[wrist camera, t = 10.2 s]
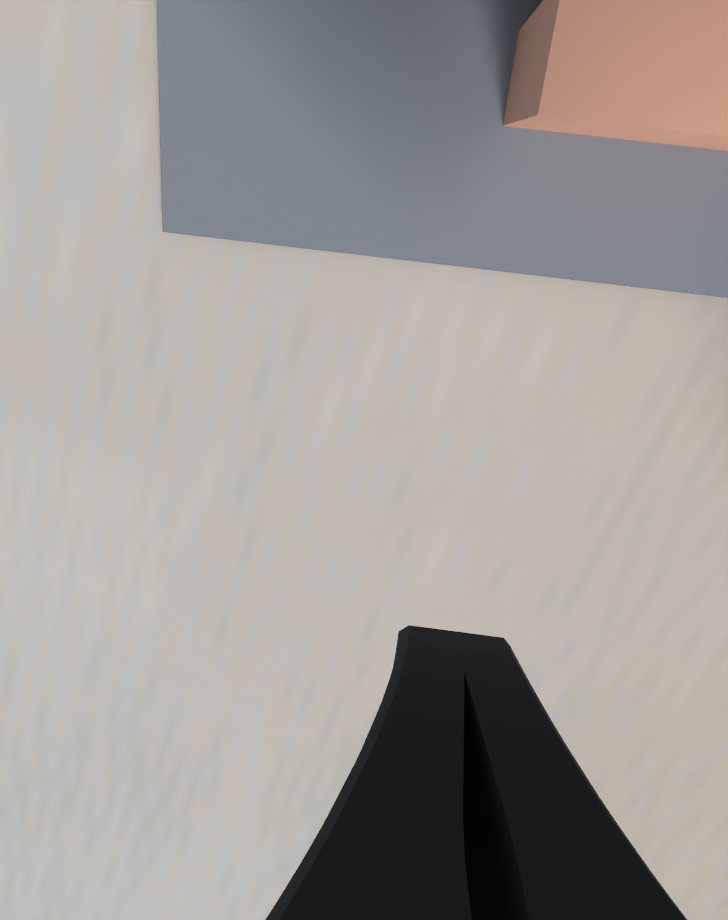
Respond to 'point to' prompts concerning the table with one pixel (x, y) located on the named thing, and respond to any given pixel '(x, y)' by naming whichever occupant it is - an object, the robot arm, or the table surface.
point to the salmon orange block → (624, 71)
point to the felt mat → (414, 147)
